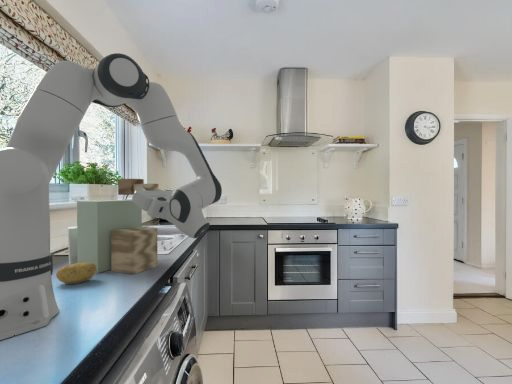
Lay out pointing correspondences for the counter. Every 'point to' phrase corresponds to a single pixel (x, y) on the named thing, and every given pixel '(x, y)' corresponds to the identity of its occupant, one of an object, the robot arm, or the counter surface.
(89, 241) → the large sage green box
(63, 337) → the counter surface
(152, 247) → the low oak block
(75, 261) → the skincare box
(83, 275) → the potato
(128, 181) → the walnut handle block
